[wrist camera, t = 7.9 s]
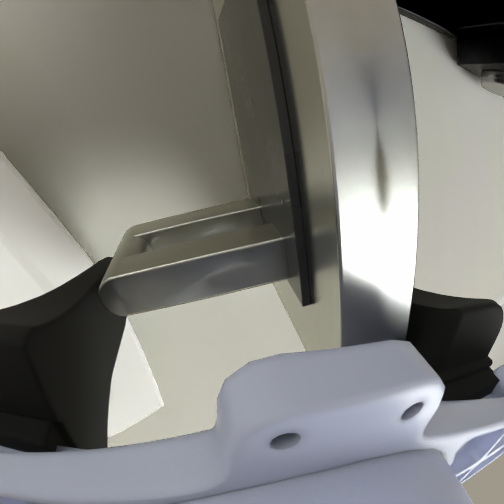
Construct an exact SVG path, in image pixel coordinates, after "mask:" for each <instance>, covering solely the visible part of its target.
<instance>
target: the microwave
mask: <svg viewBox="0 0 504 504" xmlns="http://www.w3.org/2000/svg"><path fill="white" fill-rule="evenodd" d="M396 2H397V6H398V10H399V14H401V15H403V16H406V17H408V18H410V19H412V20H415V21H417V22H419V23H421V24H423V25H425V26H427V27H429V28H432V29H434V30H436V31H438V32H439V33H441V34H443V35H445V36H447V37H449V38H451V39H453V40H454V41H456V42H458V59H457V64H458V65H459V66H461V67H463V68H465V69H467V70H469V71H471V72H472V73H474V74H476V75H478V76H479V77H481V86H482V87H483V88H484V89H486V90H487V91H489V92H491V93H494V94H496V95H499V96H502V97H504V0H396Z"/></svg>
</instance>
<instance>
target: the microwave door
mask: <svg viewBox="0 0 504 504" xmlns="http://www.w3.org/2000/svg"><path fill="white" fill-rule="evenodd" d="M212 3H213V8H214V13H215V19H216V24H217V29H218V35H219V40H220V46H221V51H222V56H223V62H224V67H225V73H226V78H227V84H228V89H229V95H230V100H231V106H232V111H233V117H234V122H235V128H236V133H237V139H238V144H239V150H240V155H241V161H242V167H243V172H244V178H245V183H246V189H247V195H248V199H246V200H241V201H236V202H232V203H227V204H223V205H218V206H214V207H209V208H205V209H201V210H196V211H192V212H188V213H184V214H180V215H175V216H171V217H167V218H163V219H159V220H155V221H151V222H147V223H143V224H139V225H136V226H133V227H131V228H129V229H128V230H127V231H126V233H125V234H124V236H123V238H122V240H121V242H120V244H119V246H118V248H117V250H116V252H115V254H114V256H113V258H112V261H111V263H110V265H109V267H108V269H107V271H106V273H105V275H104V278H103V280H102V282H101V284H100V286H99V290H98V295H99V299H100V302H101V304H102V305H103V307H104V308H105V309H106V310H107V311H109V312H110V313H112V314H115V315H118V316H128V315H134V314H138V313H143V312H148V311H152V310H157V309H162V308H166V307H171V306H176V305H180V304H185V303H189V302H194V301H198V300H202V299H207V298H211V297H215V296H220V295H224V294H228V293H233V292H237V291H241V290H245V289H249V288H254V287H258V286H262V285H266V284H270V283H273V285H274V287H275V289H276V291H277V293H278V295H279V297H280V299H281V301H282V303H283V305H284V307H285V309H286V311H287V313H288V315H289V317H290V319H291V321H292V323H293V325H294V327H295V329H296V331H297V333H298V335H299V337H300V339H301V342H302V344H303V346H304V348H305V350H306V351H315V350H324V349H332V348H340V347H348V346H355V345H362V344H369V343H375V342H381V341H387V340H399V341H406V339H407V333H408V327H409V320H410V313H411V306H412V298H413V289H414V280H415V269H416V257H417V241H418V218H419V164H418V142H417V127H416V115H415V105H414V96H413V87H412V80H411V73H410V66H409V60H408V54H407V48H406V43H405V38H404V33H403V28H402V23H401V18H400V14H399V10H398V6H397V2H396V0H212Z"/></svg>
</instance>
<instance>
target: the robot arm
mask: <svg viewBox="0 0 504 504" xmlns="http://www.w3.org/2000/svg"><path fill="white" fill-rule="evenodd" d="M112 258H113V257H106V258H104V259H102V260H100V261H99V262H97V263H96V264H94V265H93V266H91V267H90V268H88V269H87V270H85V271H84V272H82V273H80V274H79V275H77V276H76V277H74V278H72V279H71V280H69V281H67V282H66V283H64V284H63V285H61V286H59V287H57V288H55V289H53V290H51V291H49V292H47V293H45V294H43V295H41V296H39V297H36V298H33V299H31V300H28V301H25V302H23V303H20V304H17V305H14V306H10V307H7V308H3V309H0V504H473V502H472V500H471V499H470V497H469V496H468V494H467V493H466V491H465V489H464V488H463V486H462V484H461V483H463V482H464V481H466V480H467V479H468V478H470V477H471V476H473V475H474V474H476V473H477V472H479V471H480V470H481V469H483V468H484V467H485V466H487V465H488V464H490V463H491V462H492V461H494V460H495V459H496V458H497V457H499V456H500V455H502V454H503V453H504V365H502V366H500V367H498V368H497V369H496V370H495V371H493V370H492V369H491V368H490V367H489V366H491V365H492V360H491V359H490V358H489V357H488V354H489V352H490V350H491V348H492V346H493V344H494V342H495V340H496V338H497V336H498V334H499V332H500V329H501V327H502V322H503V310H502V307H501V306H500V305H498V304H497V303H496V302H495V301H493V300H490V299H474V298H461V297H453V296H447V295H441V294H436V293H432V292H427V291H423V290H419V289H416V288H414V289H413V298H412V306H411V313H410V320H409V327H408V333H407V339H406V341H399V340H387V341H381V342H375V343H369V344H362V345H355V346H348V347H340V348H332V349H324V350H315V351H306V352H295V353H284V354H278V355H274V356H270V357H267V358H263V359H259V360H255V361H251V362H248V363H247V364H246V365H244V366H243V367H241V368H240V369H239V370H237V371H236V372H235V373H233V374H232V375H230V376H229V377H228V378H226V379H225V381H224V383H223V386H222V388H221V390H220V393H219V395H218V397H217V419H216V424H215V426H214V427H213V428H212V429H209V430H205V431H200V432H196V433H192V434H187V435H182V436H177V437H172V438H167V439H162V440H157V441H151V442H145V443H139V444H132V445H125V446H117V447H109V448H107V438H108V412H109V399H110V389H111V380H112V375H113V370H114V366H115V362H116V359H117V355H118V351H119V347H120V344H121V340H122V337H123V333H124V329H125V325H126V318H127V316H118V315H115V314H112V313H110V312H109V311H107V310H106V309H105V308H104V307H103V305H102V304H101V302H100V299H99V295H98V290H99V286H100V284H101V282H102V280H103V278H104V275H105V273H106V271H107V269H108V267H109V265H110V263H111V261H112Z"/></svg>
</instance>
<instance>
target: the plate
mask: <svg viewBox="0 0 504 504" xmlns="http://www.w3.org/2000/svg"><path fill="white" fill-rule="evenodd" d="M93 265H94V263H93V262H92V261H91V259H90V258H89V256H88V255H87V254H86V252H85V251H84V250H83V248H82V247H81V246H80V245H79V244H78V242H77V241H76V240H75V239H74V238H73V236H72V235H71V234H70V233H69V231H68V230H67V229H66V228H65V226H64V225H63V224H62V223H61V221H60V220H59V219H58V218H57V216H56V215H55V214H54V213H53V212H52V211H51V209H50V208H49V207H48V206H47V205H46V204H45V202H44V201H43V200H42V199H41V198H40V197H39V195H38V194H37V193H36V192H35V191H34V189H33V188H32V187H31V186H30V185H29V183H28V182H27V181H26V180H25V178H24V177H23V176H22V175H21V174H20V173H19V172H18V171H17V169H16V168H15V167H14V166H13V165H12V164H11V162H10V161H9V160H8V159H7V158H6V157H5V155H4V154H3V153H2V152H1V151H0V309H3V308H7V307H10V306H14V305H17V304H20V303H23V302H25V301H28V300H31V299H33V298H36V297H39V296H41V295H43V294H45V293H47V292H49V291H51V290H53V289H55V288H57V287H59V286H61V285H63V284H64V283H66V282H67V281H69V280H71V279H72V278H74V277H76V276H77V275H79V274H80V273H82V272H84V271H85V270H87V269H88V268H90V267H91V266H93ZM162 406H164V403H163V401H162V398H161V395H160V392H159V390H158V387H157V384H156V381H155V379H154V377H153V374H152V372H151V369H150V367H149V364H148V362H147V359H146V357H145V354H144V352H143V349H142V347H141V345H140V343H139V341H138V339H137V337H136V335H135V333H134V330H133V328H132V326H131V324H130V322H129V319H128V317H127V318H126V325H125V329H124V333H123V337H122V340H121V344H120V347H119V351H118V355H117V359H116V362H115V366H114V370H113V375H112V380H111V389H110V399H109V412H108V437H110V436H113V435H115V434H117V433H119V432H122V431H123V430H125V429H127V428H129V427H130V426H132V425H134V424H136V423H137V422H139V421H141V420H142V419H144V418H146V417H147V416H149V415H150V414H152V413H153V412H155V411H156V410H158V409H159V408H161V407H162Z"/></svg>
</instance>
